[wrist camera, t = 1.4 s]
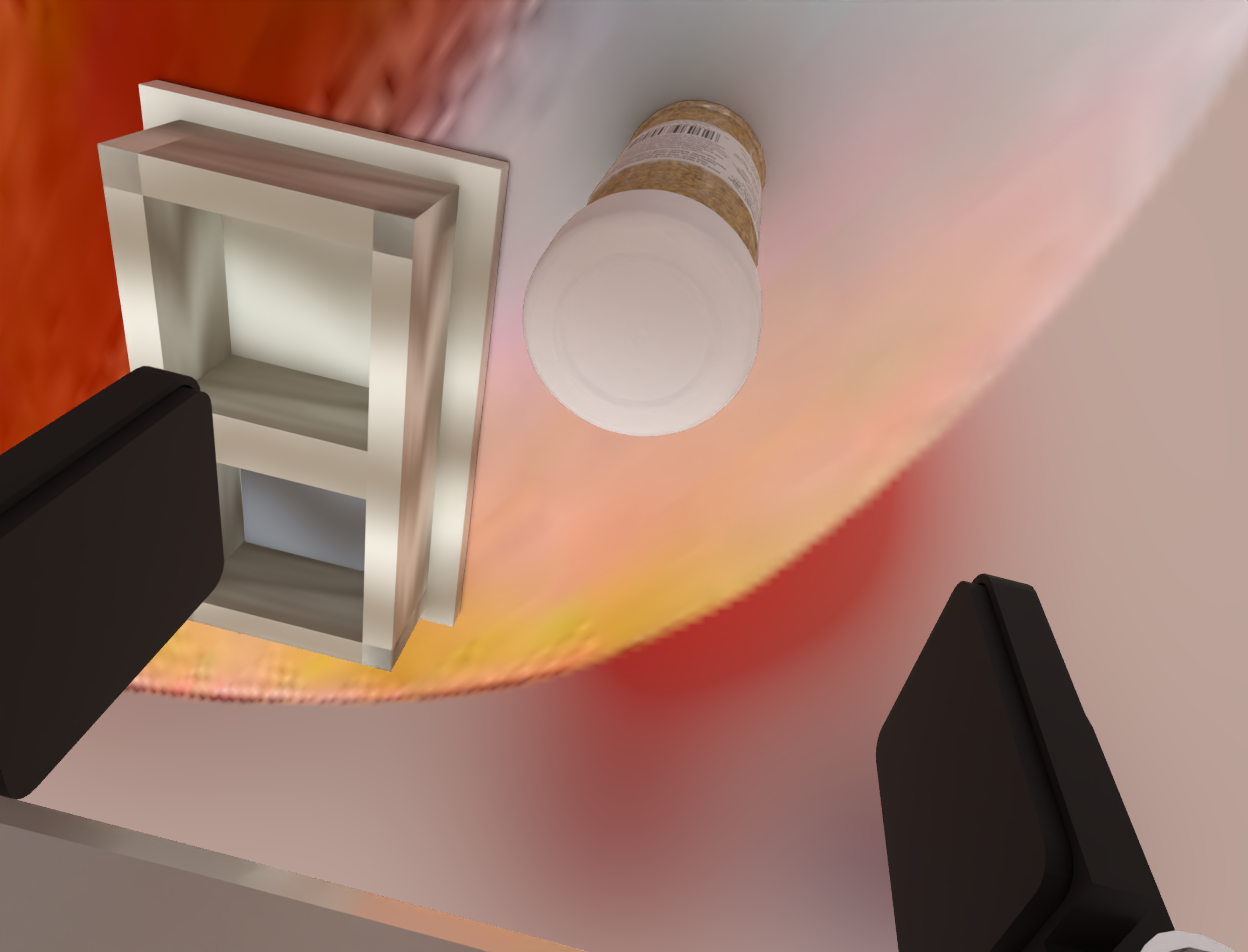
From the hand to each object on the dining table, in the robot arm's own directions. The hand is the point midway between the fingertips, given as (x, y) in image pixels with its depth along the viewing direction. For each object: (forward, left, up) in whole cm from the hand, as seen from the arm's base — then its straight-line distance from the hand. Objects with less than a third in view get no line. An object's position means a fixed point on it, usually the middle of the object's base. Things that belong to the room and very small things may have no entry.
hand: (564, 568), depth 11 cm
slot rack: (+11, -12, -20) cm, 26 cm away
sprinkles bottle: (0, 0, -20) cm, 20 cm away
